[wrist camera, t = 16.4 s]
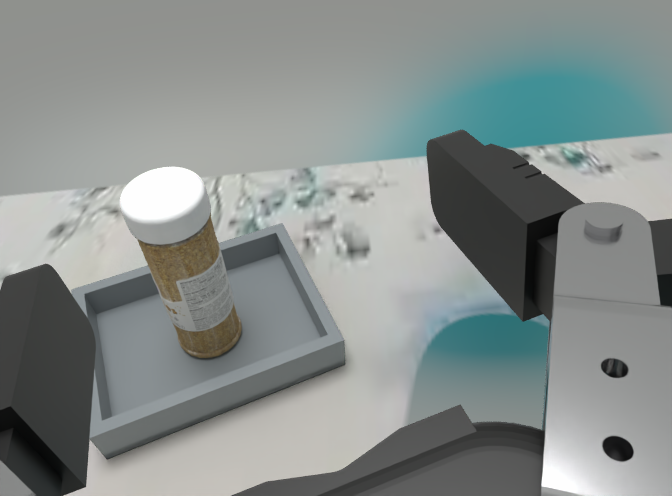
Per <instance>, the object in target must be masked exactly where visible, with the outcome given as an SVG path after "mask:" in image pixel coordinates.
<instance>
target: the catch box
mask: <svg viewBox="0 0 672 496" xmlns="http://www.w3.org/2000/svg"><path fill="white" fill-rule="evenodd" d="M219 245H220V249H221V253H222V256H223V260H224V264H225V267H226V271H227V275H228V279H229V283H230V286H231V290H232V294H233V300H234V306H235V309H236V313H237V314H238V316H239V318H240V320H241V327H242V329H241V334H240V337H239V339H238V341H237V342H236V344H235V345H234V346H233V347H232V348H231V349H229V350H228V351H226V352H225V353H223V354H221V355H219V356H216V357H212V358H198V357H195V356H191V355H190V354H188V353H187V352H186V351H185V350H183V348H182V347H181V346H180V343H179V341H178V334H177V331H176V329H175V327H174V325H173V322H172V321H171V320H170V318H169V316H168V313H167V311H166V308H165V306H164V304H163V301H162V299H161V297H160V294H159V292H158V289H157V287H156V285H155V282H154V280H153V278H152V275H151V272H150V268H149V266H145V267H142V268H138V269H135V270H132V271H129V272H126V273H123V274H119V275H116V276H113V277H110V278H107V279H104V280H100V281H97V282H94V283H91V284H88V285H85V286H81V287H78V288H75V289H72V296H73V297H74V299H75V300H76V302H77V303H78V305H79V306H80V308H81V309H82V310H83V312H84V313H85V315H86V316H87V318H88V320H89V322H90V324H91V326H92V329H93V332H94V336H95V341H96V354H95V368H94V382H93V396H92V410H91V423H90V437H89V439H90V440H91V441H92V442H93V443H94V445H95V446H96V447H97V448H98V449H99V450H100V452H101V453H102V454H103V455H104V456H105V457H106V459H109V458H111V457H114V456H116V455H119V454H121V453H124V452H126V451H129V450H131V449H134V448H136V447H139V446H141V445H144V444H146V443H149V442H151V441H154V440H156V439H159V438H161V437H164V436H166V435H169V434H171V433H174V432H176V431H179V430H182V429H184V428H187V427H189V426H192V425H194V424H197V423H199V422H202V421H204V420H207V419H209V418H212V417H214V416H217V415H219V414H222V413H224V412H227V411H229V410H232V409H234V408H237V407H239V406H242V405H244V404H247V403H249V402H252V401H254V400H257V399H259V398H262V397H264V396H267V395H269V394H272V393H274V392H277V391H279V390H282V389H284V388H287V387H289V386H292V385H294V384H297V383H300V382H302V381H305V380H307V379H310V378H312V377H315V376H317V375H320V374H322V373H325V372H327V371H330V370H332V369H335V368H337V367H340V366H342V365H345V347H344V338H343V337H342V335H341V333H340V331H339V329H338V327H337V325H336V323H335V321H334V320H333V318H332V316H331V314H330V312H329V310H328V308H327V306H326V305H325V303H324V301H323V299H322V297H321V295H320V293H319V291H318V289H317V288H316V286H315V284H314V282H313V280H312V278H311V276H310V274H309V272H308V271H307V269H306V267H305V265H304V263H303V261H302V259H301V257H300V255H299V254H298V252H297V250H296V248H295V246H294V244H293V242H292V240H291V239H290V237H289V235H288V233H287V231H286V229H285V227H284V225H283V223H281V224H278V225H275V226H272V227H268V228H265V229H262V230H259V231H256V232H253V233H249V234H246V235H243V236H240V237H237V238H234V239H230V240H227V241H224V242H221V243H219Z"/></svg>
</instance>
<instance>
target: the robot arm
mask: <svg viewBox="0 0 672 496" xmlns="http://www.w3.org/2000/svg"><path fill="white" fill-rule="evenodd" d="M427 162H428V173H429V184H430V196H431V204H432V208H433V212H434V215H435V217H436V219H437V221H438V223H439V225H440V226H441V228H442V229H443V230H444V231H445V232H446V234H447V235H448V236H449V237H450V238H451V239H452V240H453V242H454V243H455V244H456V245H457V246H458V247H459V249H460V250H461V251H462V252H463V253H464V254H465V256H466V257H467V258H468V259H469V260H470V261H471V262H472V264H473V265H474V266H475V267H476V268H477V269H478V271H479V272H480V273H481V274H482V275H483V276H484V277H485V279H486V280H487V281H488V282H489V283H490V284H491V286H492V287H493V288H494V289H495V290H496V291H497V293H498V294H499V295H500V296H501V297H502V298H503V299H504V301H505V302H506V303H507V304H508V305H509V306H510V308H511V309H512V310H513V311H514V312H515V313H516V314H517V316H518V317H519V318H520V319H521V320H522V321H526V320H529V319H531V318H534V317H536V316H539V315H542V314H544V315H545V316H546V318H547V319H548V320H549V321H550V324H549V337H548V350H547V365H546V378H545V392H544V405H543V419H542V430H540V429H537V428H534V427H531V426H526V425H521V424H516V423H507V422H476V423H472V422H471V421H470V419H469V417H468V416H467V414H466V413H465V411H464V409H463V408H462V406H461V405H458V406H455V407H453V408H451V409H448V410H445V411H443V412H440V413H438V414H435V415H433V416H430V417H428V418H426V419H423V420H421V421H418V422H415V423H413V424H410V425H408V426H405V427H403V428H400V429H398V430H397V431H396V432H394V433H393V434H391V435H390V436H389V437H387V438H386V439H384V440H383V441H382V442H380V443H379V444H377V445H376V446H375V447H373V448H372V449H370V450H369V451H368V452H366V453H365V454H363V455H362V456H361V457H359V458H358V459H356V460H355V461H354V462H352V463H351V464H349V465H348V466H347V467H345V468H343V469H342V470H339V471H337V472H332V473H325V474H318V475H311V476H304V477H297V478H290V479H283V480H276V481H268V482H265V483H262V484H260V485H257V486H254V487H252V488H249V489H247V490H244V491H242V492H239V493H237V494H234V495H232V496H672V219H666V220H657V221H647V220H646V219H645V218H644V217H643V216H642V215H641V214H640V213H638V212H636V211H635V210H633V209H631V208H628V207H625V206H622V205H618V204H613V203H604V202H594V203H586V204H585V203H583V202H582V201H581V200H579V199H578V198H577V197H575V196H574V195H572V194H571V193H570V192H568V191H567V190H566V189H564V188H563V187H562V186H560V185H559V184H558V183H556V182H555V181H554V180H552V179H551V178H549V177H548V176H547V175H545V174H542V173H541V171H540V170H539V169H537V168H536V167H535V166H533V165H532V164H531V165H529V162H528V161H526V160H525V159H524V158H522V157H521V156H520V155H518V154H517V153H516V152H514V151H512V150H509V149H506V148H503V147H500V146H497V145H493V144H489V145H486V146H484V145H483V144H481V143H480V142H479V141H478V140H476V139H475V138H474V137H472V136H471V135H470V134H469V133H467V132H466V131H464V130H459V131H455V132H452V133H450V134H446V135H443V136H440V137H437V138H434V139H431V140H429V141H428V143H427ZM95 354H96V341H95V336H94V332H93V329H92V326H91V324H90V322H89V320H88V318H87V316H86V315H85V313H84V312H83V310H82V309H81V308H80V306H79V305H78V303H77V302H76V300H75V299H74V297H73V296H72V294H71V293H70V291H69V290H68V288H67V287H66V285H65V284H64V282H63V281H62V279H61V278H60V276H59V275H58V273H57V272H56V271H55V269H54V268H53V267H52V266H50V265H49V264H43V265H40V266H37V267H34V268H31V269H28V270H25V271H22V272H19V273H16V274H13V275H10V276H7V277H5V279H4V281H3V283H2V287H1V290H0V496H63V495H66V494H69V493H71V492H74V491H76V490H79V489H82V488H84V487H86V479H87V465H88V451H89V437H90V423H91V410H92V396H93V382H94V368H95Z"/></svg>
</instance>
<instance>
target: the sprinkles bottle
mask: <svg viewBox="0 0 672 496" xmlns="http://www.w3.org/2000/svg"><path fill="white" fill-rule="evenodd" d="M120 209H121V212H122V214H123V217H124V219H125V222H126V224H127V226H128V228H129V230H130V232H131V233H132V235H133V236H134V237H135V238H137V239H138V242H139V245H140V247H141V249H142V251H143V254H144V256H145V259H146V261H147V263H148V266H149V268H150V272H151V275H152V278H153V280H154V282H155V285H156V287H157V289H158V292H159V294H160V297H161V299H162V301H163V304H164V306H165V308H166V311H167V313H168V316H169V318H170V320H171V321H172V322H173V325H174V327H175V329H176V331H177V334H178V341H179V343H180V346H181V347H182V348H183V350H185V351H186V352H187V353H188V354H190V355H191V356H195V357H198V358H212V357H216V356H219V355H221V354H223V353H225V352H226V351H228V350H229V349H231V348H232V347H233V346H234V345H235V344H236V342H237V341H238V339H239V337H240V334H241V329H242V327H241V320H240V318H239V316H238V314H237V313H236V309H235V306H234V300H233V294H232V290H231V286H230V283H229V279H228V275H227V271H226V267H225V264H224V260H223V256H222V253H221V249H220V245H219V243H218V241H217V238H216V235H215V232H214V228H213V224H212V220H211V205H210V201H209V197H208V194H207V191H206V188H205V185H204V183H203V181H202V179H201V178H200V177H199V176H198V175H197V174H195V173H194V172H192V171H190V170H188V169H185V168H179V167H163V168H158V169H154V170H151V171H147V172H145V173H143V174H141V175H139V176H138V177H136V178H135V179H133V180H132V181H131V182H130V183H129V184H128V185H127V186H126V187H125V188H124V190H123V192H122V194H121V196H120Z"/></svg>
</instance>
